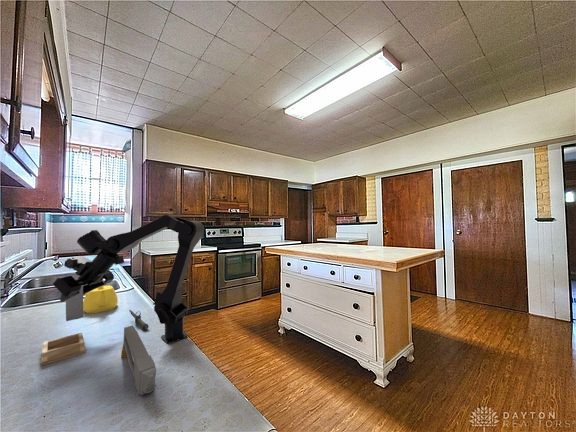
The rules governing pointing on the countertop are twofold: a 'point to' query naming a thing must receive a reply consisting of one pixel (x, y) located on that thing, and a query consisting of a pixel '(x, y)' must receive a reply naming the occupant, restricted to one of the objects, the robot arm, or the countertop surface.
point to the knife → (139, 320)
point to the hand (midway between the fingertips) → (70, 297)
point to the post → (75, 306)
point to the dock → (62, 348)
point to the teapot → (100, 300)
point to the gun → (139, 361)
